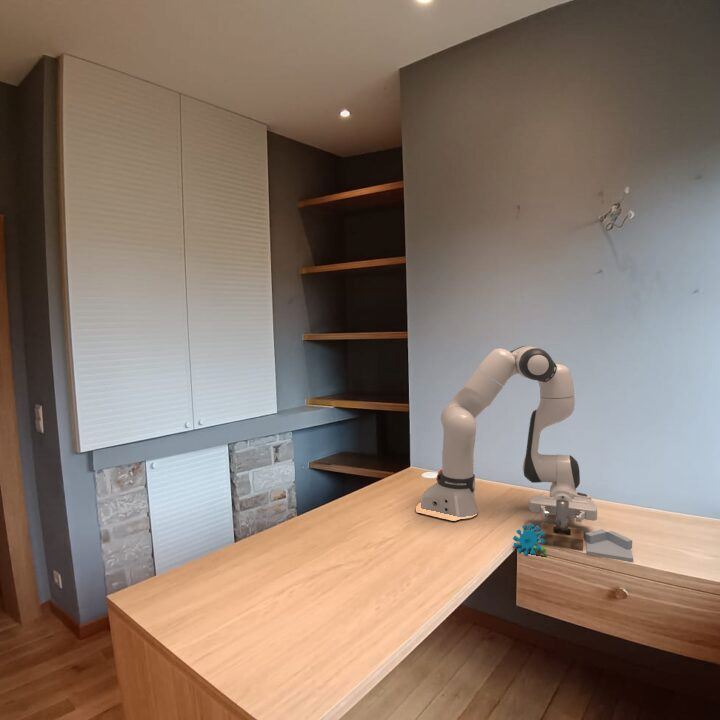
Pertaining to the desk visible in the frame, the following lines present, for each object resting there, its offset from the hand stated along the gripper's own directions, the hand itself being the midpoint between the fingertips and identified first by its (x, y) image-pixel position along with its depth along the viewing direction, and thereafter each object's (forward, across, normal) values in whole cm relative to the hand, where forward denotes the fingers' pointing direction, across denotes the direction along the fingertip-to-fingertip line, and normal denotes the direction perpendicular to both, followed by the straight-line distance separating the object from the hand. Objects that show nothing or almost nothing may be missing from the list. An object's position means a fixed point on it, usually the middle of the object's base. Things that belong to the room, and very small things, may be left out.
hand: (562, 517), depth 150 cm
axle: (0, 0, +8) cm, 8 cm away
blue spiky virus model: (+10, -9, +8) cm, 16 cm away
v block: (0, +13, +8) cm, 15 cm away
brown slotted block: (0, 0, +8) cm, 8 cm away
